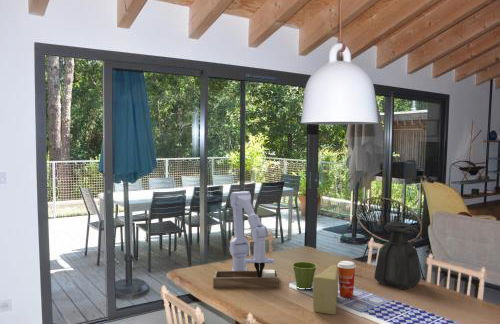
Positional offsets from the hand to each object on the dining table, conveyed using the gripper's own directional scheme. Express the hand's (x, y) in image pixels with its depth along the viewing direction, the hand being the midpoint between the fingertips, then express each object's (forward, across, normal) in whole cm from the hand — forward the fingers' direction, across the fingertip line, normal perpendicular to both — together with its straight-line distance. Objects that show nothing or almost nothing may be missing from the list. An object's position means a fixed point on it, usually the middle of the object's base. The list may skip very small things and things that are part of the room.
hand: (259, 277), depth 212 cm
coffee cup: (+3, +40, -17) cm, 43 cm away
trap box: (+3, -6, 0) cm, 7 cm away
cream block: (+1, +4, 0) cm, 5 cm away
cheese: (+3, +30, -28) cm, 41 cm away
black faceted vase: (+3, +68, -1) cm, 69 cm away
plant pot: (+3, +22, -7) cm, 23 cm away
